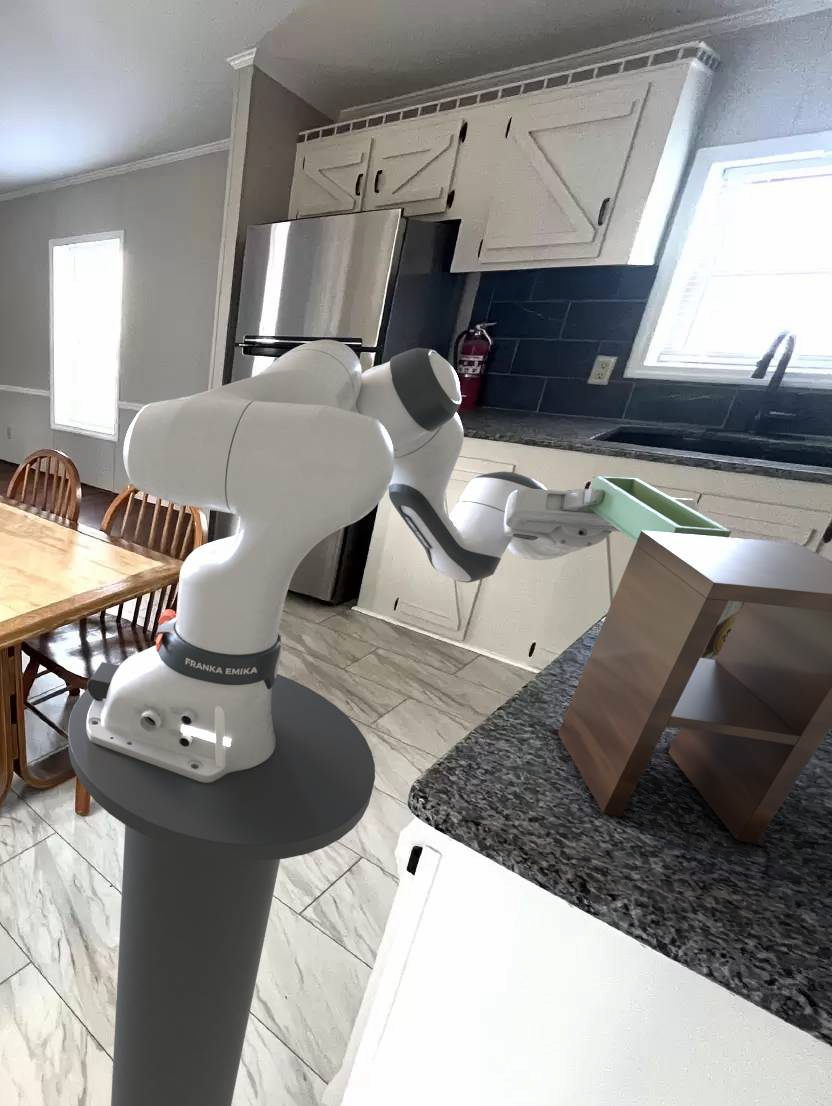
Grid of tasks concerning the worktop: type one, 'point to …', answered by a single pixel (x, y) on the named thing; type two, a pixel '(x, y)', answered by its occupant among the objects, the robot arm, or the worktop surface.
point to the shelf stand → (709, 674)
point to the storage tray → (648, 510)
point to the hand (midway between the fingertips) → (625, 497)
